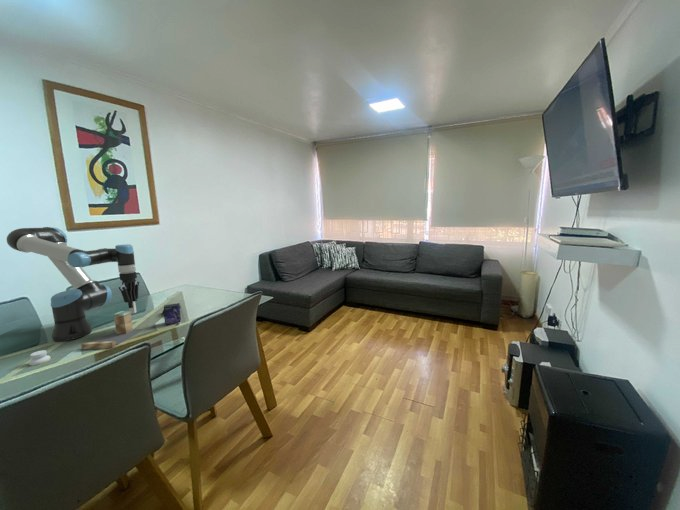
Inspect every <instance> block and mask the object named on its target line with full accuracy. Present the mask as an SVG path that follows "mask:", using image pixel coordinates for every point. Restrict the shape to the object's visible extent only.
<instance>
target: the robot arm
mask: <svg viewBox="0 0 680 510" xmlns="http://www.w3.org/2000/svg"><path fill="white" fill-rule="evenodd" d="M6 244H7V245H8V246H9V247H10V248H11V249H12V250H15V251H18V252H22V253H33V254H38V255H41V256H44V257H47V258H48V260H50V261H51V263H53V265H54V266H55V268H57V270H58V271H59V272H60V274H62V276H63V277H64V278H65V279H66V280H67V282H68V283H69V285H70V286H71V287H72V289H69V290H64V291H60V292H58V293H55V294H53V295H51V298H50V307H51V310H52V316H53V321H54V325H53V326H54V327H53V329H52V330H53V331H52V334H51V339H53V340H54V342H65V341H70V340H74V339H79V338H82V337H83V336H86V335H89V334H91V333H92V332H93V326H92V325H91V324H90V323H89V320H88V319H87V315H86V312H88V311H90V310H93V309H96V308H99V307H102V306H105V305H107V304H108V303H109V302H111V300H112V295H113V293H112V290H111V288H110V286H108V285H107V284H106V285H105V284H100V283H99V281H97V280H94V279H92V278H91V277H90V276H89V275H88V273H87V272H86V271H85V270H84V268H85V267H90V266H96V265H100V264H106V263H117V268H118V273H119V274H118V275H119V280H120V281H122V282H121V286H119V287H118V290H119V291H120V293H121V296H122V298H123V302H124V303H127V304H128V311H130V312H131V314H136V313H137V303H136V302H137V301H138V299H139V286H140V282H139V281H137V280H136V279H137V278H138V276H137V275H138V274H137V269H136V261H135V251H134V248H133V247H134V246H133V245H132V244H128V243H127V244H117V245H115V248H99V249H98V248H97V249H94V250H93V249H92V250H83V249H80V248H75V247H72V246H68V245H67V244H68V237H67V234H66V233H65V232H64V231H63V230H62V229H60V228H58V227H54V226H53V227H51V226H49V227H48V226H44V227H22V228H17V229H14V230H12V231H10V232H9V233H8V235H7V236H6ZM53 340H52V341H53Z"/></svg>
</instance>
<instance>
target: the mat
mask: <svg viewBox="0 0 680 510" xmlns="http://www.w3.org/2000/svg"><path fill="white" fill-rule="evenodd" d="M142 330H143V329H142V328H135V329H134V328H133V330H132V331H130V332H128V333H127V334H117V333H116V331H115V330H114V331H112V332H110V333H108V334H106V335H104V336H102V337H101V338H98V339H97V340H95V341H94V342H105V341H115V343H116V346H118V345H120V344H121V343H123V342H125V341H126V340H128V339H129V338H131V337H133V336H134V335H136V334H138V333H139V332H141V331H142Z"/></svg>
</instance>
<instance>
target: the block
mask: <svg viewBox="0 0 680 510" xmlns="http://www.w3.org/2000/svg"><path fill="white" fill-rule="evenodd" d="M113 318H114V324H115V330H116V333H117V334H127V333H128V332H130V331H132V330H133V329H134V327H133V321H132V320H133V319H132V313H131V312H130V311H129V310H121V311H118V312H116V313H114V314H113Z"/></svg>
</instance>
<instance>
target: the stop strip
mask: <svg viewBox="0 0 680 510" xmlns="http://www.w3.org/2000/svg"><path fill="white" fill-rule="evenodd" d="M80 346H81V350H96V349H98V350H99V349H114V348H115V347H116V346H117V345H116V343H115V341H105V342H95V341H91V342H89V341H88V342H86V341H85V342H84V343H81V344H80Z"/></svg>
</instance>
